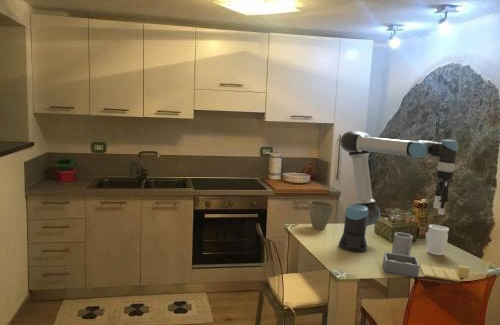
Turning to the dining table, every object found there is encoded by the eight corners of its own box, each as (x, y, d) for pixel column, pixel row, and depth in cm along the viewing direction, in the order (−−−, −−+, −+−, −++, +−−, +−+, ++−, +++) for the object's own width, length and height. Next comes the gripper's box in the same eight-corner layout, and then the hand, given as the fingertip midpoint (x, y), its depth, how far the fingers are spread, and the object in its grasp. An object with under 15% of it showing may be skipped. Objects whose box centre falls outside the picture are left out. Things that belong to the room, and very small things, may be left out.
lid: (423, 276, 198) (425, 265, 198) (419, 266, 211) (420, 256, 210) (470, 283, 194) (472, 272, 193) (463, 272, 206) (465, 262, 206)
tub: (384, 272, 198) (386, 260, 197) (382, 263, 210) (384, 252, 209) (417, 278, 195) (419, 265, 194) (414, 268, 206) (416, 257, 206)
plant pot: (306, 230, 256) (309, 205, 254) (307, 223, 271) (309, 199, 268) (330, 233, 254) (333, 207, 252) (330, 226, 268) (333, 202, 266)
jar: (447, 257, 227) (451, 231, 225) (427, 254, 229) (431, 228, 226) (442, 251, 237) (446, 225, 235) (423, 248, 239) (427, 223, 237)
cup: (396, 252, 228) (399, 231, 227) (412, 257, 222) (415, 236, 220) (388, 255, 222) (391, 234, 220) (404, 261, 216) (407, 239, 214)
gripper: (458, 175, 197) (451, 218, 200) (448, 168, 221) (441, 206, 224) (441, 173, 199) (434, 216, 202) (433, 166, 223) (426, 204, 226)
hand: (438, 211), depth 213 cm, fingers open, 13 cm apart
